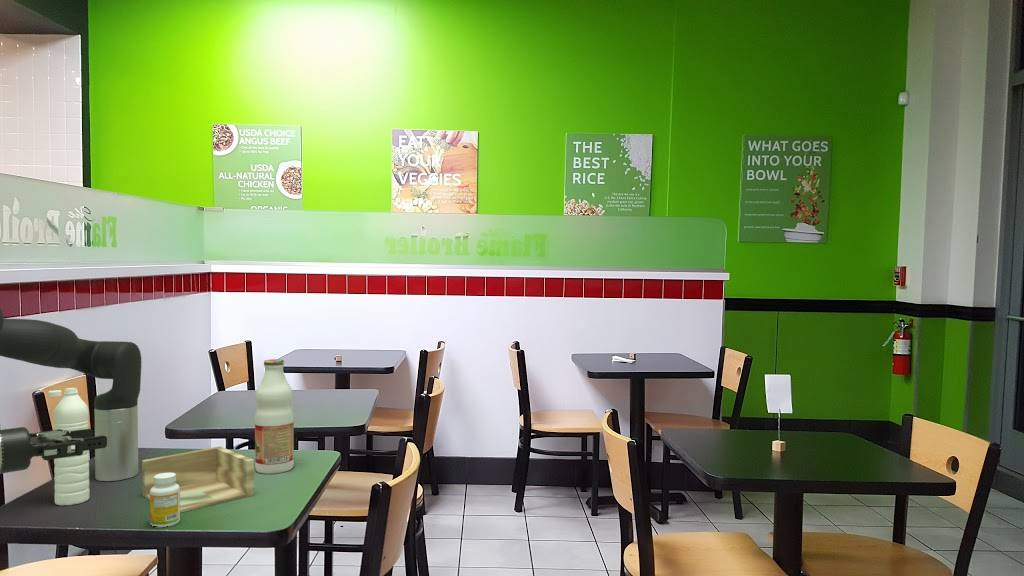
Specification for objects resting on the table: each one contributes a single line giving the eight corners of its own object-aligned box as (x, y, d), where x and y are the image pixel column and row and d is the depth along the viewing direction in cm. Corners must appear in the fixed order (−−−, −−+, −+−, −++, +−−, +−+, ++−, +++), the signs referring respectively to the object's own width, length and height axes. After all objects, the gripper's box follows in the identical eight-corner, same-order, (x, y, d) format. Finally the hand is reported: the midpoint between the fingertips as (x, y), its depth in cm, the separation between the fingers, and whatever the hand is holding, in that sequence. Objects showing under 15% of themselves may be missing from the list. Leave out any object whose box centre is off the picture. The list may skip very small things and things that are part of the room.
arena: (142, 495, 157) (142, 460, 157) (220, 479, 170) (219, 446, 170) (173, 514, 145) (172, 476, 145) (254, 495, 158) (253, 459, 158)
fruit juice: (278, 476, 173) (278, 363, 172) (247, 472, 176) (246, 361, 175) (301, 466, 182) (300, 358, 181) (270, 462, 185) (270, 357, 184)
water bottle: (71, 495, 157) (70, 385, 157) (96, 497, 156) (95, 386, 155) (38, 508, 149) (36, 391, 148) (64, 510, 147) (62, 392, 147)
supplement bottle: (157, 518, 143) (156, 471, 143) (184, 518, 143) (183, 471, 143) (145, 528, 137) (145, 479, 137) (173, 527, 138) (173, 478, 138)
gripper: (3, 437, 116) (111, 423, 128) (-14, 424, 126) (87, 412, 138) (3, 482, 116) (111, 464, 128) (-14, 466, 126) (88, 450, 138)
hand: (99, 437), depth 133 cm, fingers open, 8 cm apart
